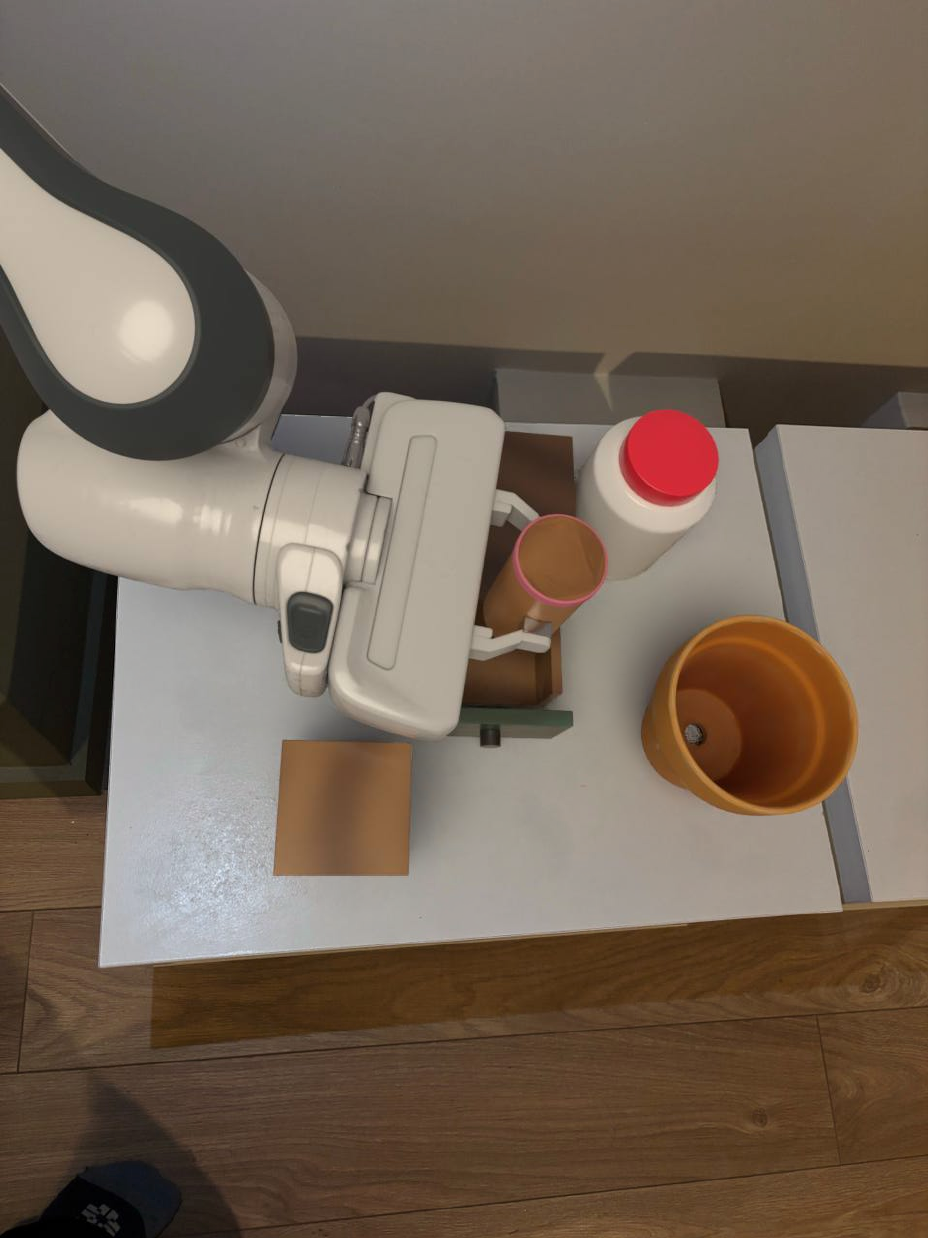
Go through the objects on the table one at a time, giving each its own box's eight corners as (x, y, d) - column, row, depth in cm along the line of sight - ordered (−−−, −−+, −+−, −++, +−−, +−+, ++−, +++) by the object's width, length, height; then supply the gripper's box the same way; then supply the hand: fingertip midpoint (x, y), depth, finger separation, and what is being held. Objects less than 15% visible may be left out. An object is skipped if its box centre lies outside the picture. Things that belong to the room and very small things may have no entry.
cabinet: (552, 634, 70) (580, 605, 62) (406, 627, 68) (416, 596, 60) (547, 480, 74) (572, 436, 66) (410, 470, 72) (419, 423, 64)
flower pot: (628, 836, 65) (697, 829, 53) (593, 667, 69) (651, 624, 57) (784, 810, 68) (884, 798, 56) (743, 649, 72) (828, 604, 60)
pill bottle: (541, 488, 73) (590, 403, 60) (641, 468, 76) (710, 382, 62) (575, 591, 71) (634, 526, 57) (677, 567, 73) (757, 500, 60)
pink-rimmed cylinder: (481, 649, 52) (516, 601, 42) (481, 572, 53) (514, 510, 44) (560, 652, 53) (611, 605, 43) (557, 577, 54) (606, 516, 45)
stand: (285, 873, 61) (272, 875, 47) (291, 766, 63) (282, 739, 50) (391, 873, 62) (409, 875, 49) (394, 768, 64) (411, 742, 51)
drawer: (551, 753, 66) (574, 742, 60) (412, 750, 64) (420, 738, 58) (546, 583, 70) (567, 557, 64) (415, 575, 68) (424, 548, 62)
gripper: (357, 413, 53) (561, 459, 54) (287, 720, 46) (521, 763, 48) (361, 356, 47) (590, 409, 48) (281, 699, 40) (549, 749, 42)
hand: (556, 588), depth 48 cm, fingers closed on pink-rimmed cylinder, 5 cm apart
